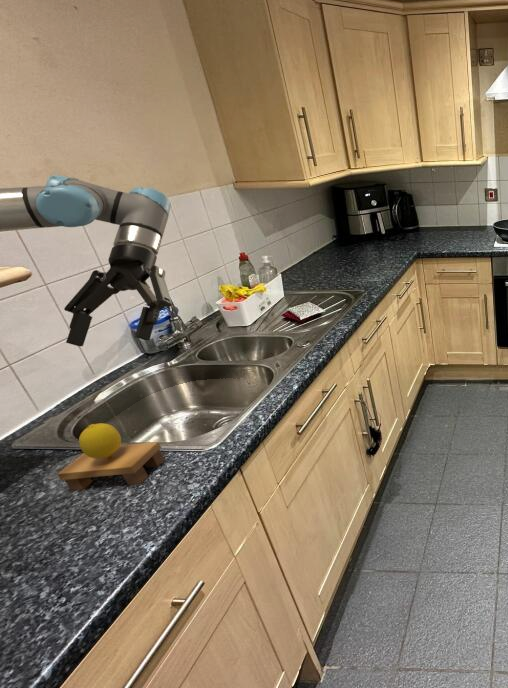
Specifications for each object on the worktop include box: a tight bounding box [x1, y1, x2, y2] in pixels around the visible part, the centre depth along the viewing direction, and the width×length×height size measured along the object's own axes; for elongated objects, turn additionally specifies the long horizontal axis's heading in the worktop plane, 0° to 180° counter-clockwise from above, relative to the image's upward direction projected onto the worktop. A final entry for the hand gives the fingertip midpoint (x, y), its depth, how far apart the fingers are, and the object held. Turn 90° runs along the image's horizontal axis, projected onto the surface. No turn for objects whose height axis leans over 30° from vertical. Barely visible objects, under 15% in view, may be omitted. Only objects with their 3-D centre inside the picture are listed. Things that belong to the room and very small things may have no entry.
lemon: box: [78, 422, 122, 459], centre depth 80 cm, size 6×6×8 cm
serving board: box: [56, 441, 166, 491], centre depth 82 cm, size 14×7×5 cm, turn 93°
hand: (108, 341), depth 83 cm, fingers open, 13 cm apart
